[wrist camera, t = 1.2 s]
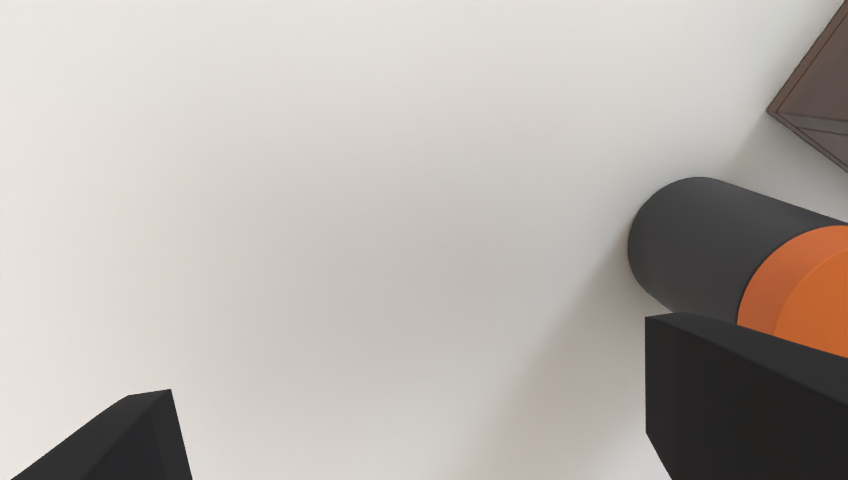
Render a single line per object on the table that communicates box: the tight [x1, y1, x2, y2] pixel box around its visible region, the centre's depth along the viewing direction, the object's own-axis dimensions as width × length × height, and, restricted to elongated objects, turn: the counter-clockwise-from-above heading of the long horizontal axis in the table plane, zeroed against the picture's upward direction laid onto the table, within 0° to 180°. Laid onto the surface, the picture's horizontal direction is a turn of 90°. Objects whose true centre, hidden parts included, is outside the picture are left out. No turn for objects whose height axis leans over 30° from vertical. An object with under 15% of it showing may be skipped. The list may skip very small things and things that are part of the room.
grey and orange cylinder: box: [628, 177, 848, 358], centre depth 18 cm, size 4×4×8 cm
